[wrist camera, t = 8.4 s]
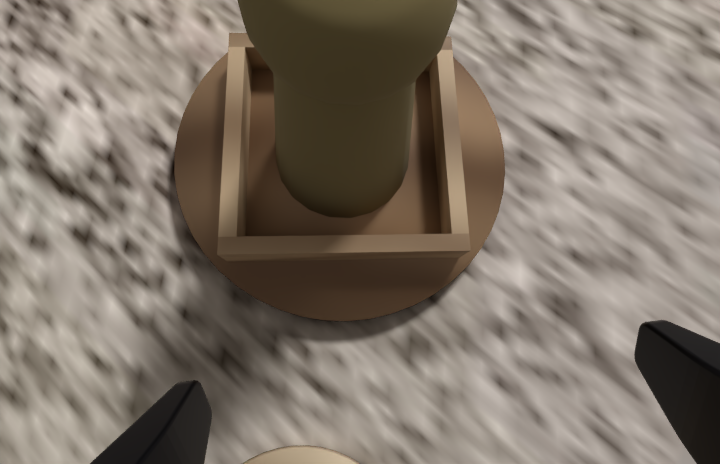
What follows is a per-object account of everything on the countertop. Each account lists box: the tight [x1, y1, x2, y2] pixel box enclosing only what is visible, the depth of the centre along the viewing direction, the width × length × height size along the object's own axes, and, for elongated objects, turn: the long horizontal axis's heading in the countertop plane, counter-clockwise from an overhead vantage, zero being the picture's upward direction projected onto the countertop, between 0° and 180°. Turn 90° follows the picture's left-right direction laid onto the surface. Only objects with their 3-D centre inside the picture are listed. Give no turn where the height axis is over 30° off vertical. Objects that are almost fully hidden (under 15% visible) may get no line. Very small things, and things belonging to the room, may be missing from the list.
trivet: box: [174, 33, 505, 321], centre depth 19 cm, size 15×15×3 cm
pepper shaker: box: [238, 0, 457, 218], centre depth 14 cm, size 6×6×11 cm
